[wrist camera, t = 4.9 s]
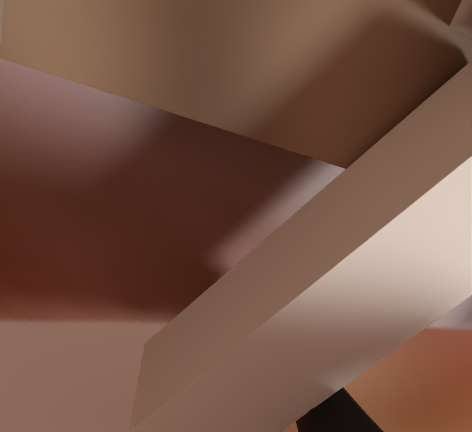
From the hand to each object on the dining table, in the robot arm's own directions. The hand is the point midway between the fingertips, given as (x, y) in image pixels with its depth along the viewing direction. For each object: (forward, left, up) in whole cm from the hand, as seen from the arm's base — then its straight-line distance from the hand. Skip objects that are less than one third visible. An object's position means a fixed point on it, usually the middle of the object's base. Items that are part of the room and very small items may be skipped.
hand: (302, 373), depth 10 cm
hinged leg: (+1, -4, 0) cm, 4 cm away
